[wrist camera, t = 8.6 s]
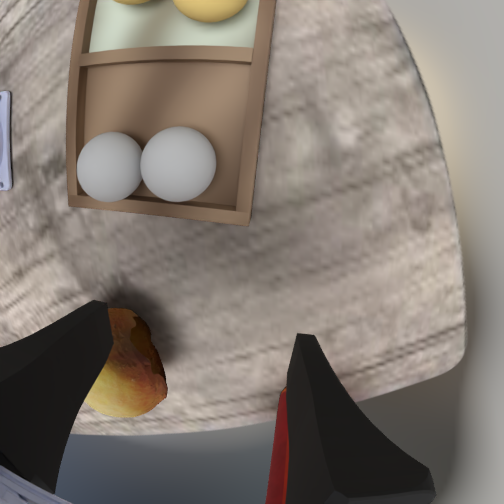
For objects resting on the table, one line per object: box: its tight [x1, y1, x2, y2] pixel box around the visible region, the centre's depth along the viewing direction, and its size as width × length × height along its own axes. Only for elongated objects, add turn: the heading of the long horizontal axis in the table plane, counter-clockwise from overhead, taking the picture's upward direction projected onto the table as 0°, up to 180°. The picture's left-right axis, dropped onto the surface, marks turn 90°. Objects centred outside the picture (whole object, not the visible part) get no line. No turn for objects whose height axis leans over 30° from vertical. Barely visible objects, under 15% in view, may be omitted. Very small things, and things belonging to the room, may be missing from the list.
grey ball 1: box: [77, 132, 143, 202], centre depth 17 cm, size 4×4×4 cm
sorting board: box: [66, 0, 276, 226], centre depth 16 cm, size 12×17×2 cm
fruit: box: [84, 308, 168, 417], centre depth 21 cm, size 8×8×8 cm
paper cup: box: [265, 387, 289, 504], centre depth 20 cm, size 8×8×14 cm
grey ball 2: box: [140, 126, 216, 202], centre depth 16 cm, size 4×4×4 cm
